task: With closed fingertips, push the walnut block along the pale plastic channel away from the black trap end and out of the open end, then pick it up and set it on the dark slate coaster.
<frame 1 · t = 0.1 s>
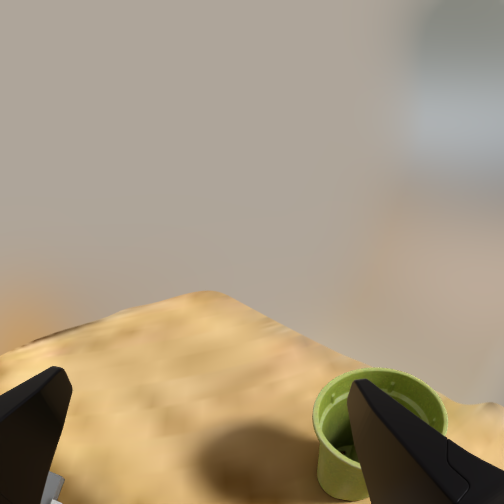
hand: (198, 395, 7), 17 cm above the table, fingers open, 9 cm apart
slate coaster: (18, 494, 10), on the table
plant pot: (350, 473, 18), on the table
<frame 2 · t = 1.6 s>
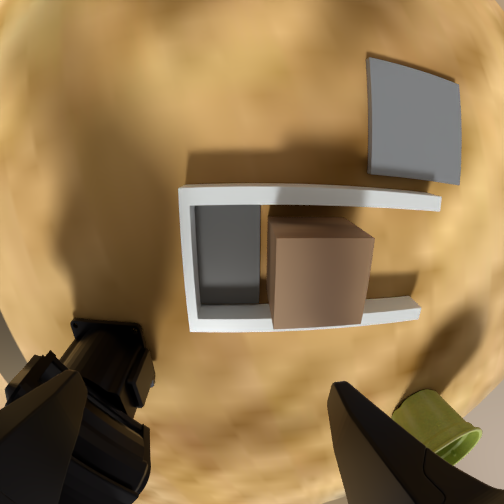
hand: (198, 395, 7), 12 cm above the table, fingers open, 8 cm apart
slate coaster: (417, 123, 16), on the table
walnut block: (304, 253, 19), on the table
channel: (319, 254, 19), on the table
plant pot: (413, 405, 26), on the table
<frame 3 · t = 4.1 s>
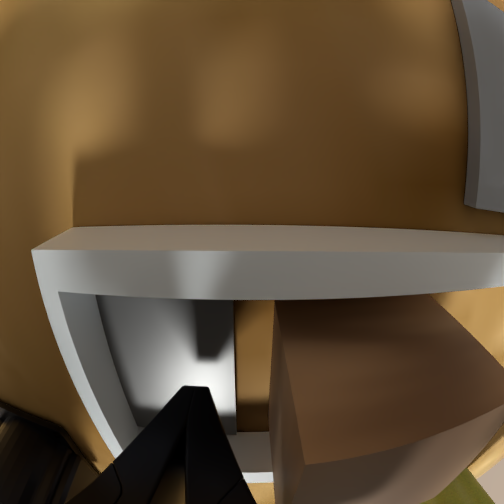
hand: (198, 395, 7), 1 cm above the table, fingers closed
walnut block: (345, 363, 9), on the table, touching gripper
channel: (355, 363, 9), on the table
plant pot: (438, 481, 15), on the table
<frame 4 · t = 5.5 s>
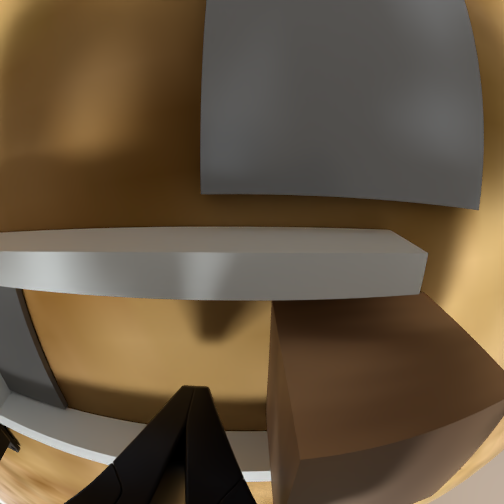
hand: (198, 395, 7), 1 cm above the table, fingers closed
slate coaster: (361, 51, 6), on the table
walnut block: (343, 362, 9), on the table, touching gripper
channel: (126, 361, 9), on the table
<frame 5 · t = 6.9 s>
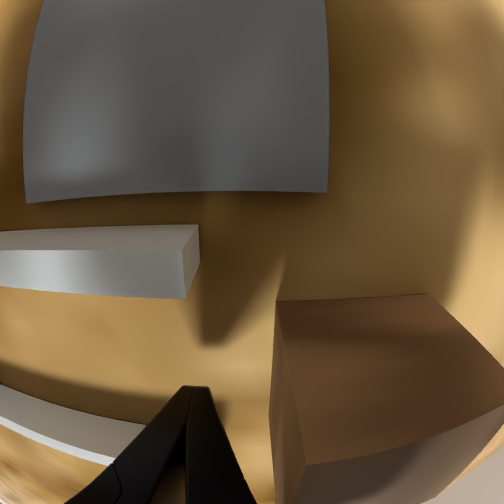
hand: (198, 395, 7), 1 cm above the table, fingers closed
slate coaster: (161, 39, 6), on the table
walnut block: (346, 363, 9), on the table, touching gripper
channel: (20, 342, 8), on the table
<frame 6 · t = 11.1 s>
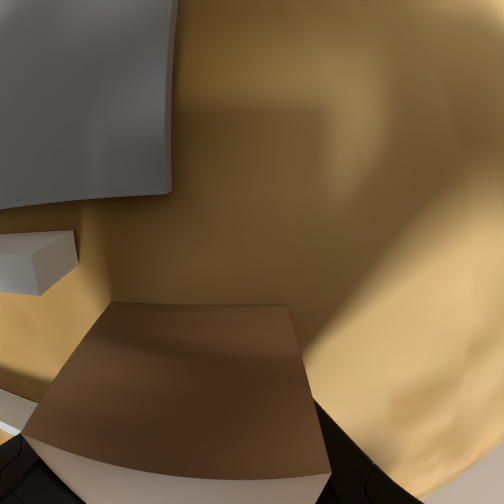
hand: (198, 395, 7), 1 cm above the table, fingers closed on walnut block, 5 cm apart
slate coaster: (45, 67, 5), on the table
walnut block: (201, 373, 8), on the table, touching gripper
when the fingers open (3 cm above the table, at t = 14.9 s): walnut block drops 2 cm, resting on slate coaster.
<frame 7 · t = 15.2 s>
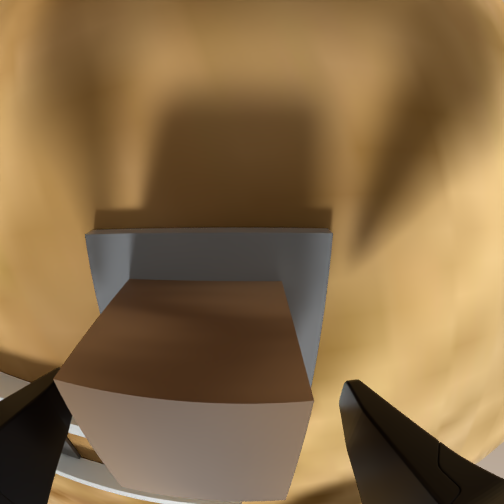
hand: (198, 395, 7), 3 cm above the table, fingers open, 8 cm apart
slate coaster: (209, 333, 10), on the table
walnut block: (206, 344, 10), point 1 cm above the table, touching slate coaster
channel: (112, 445, 13), on the table
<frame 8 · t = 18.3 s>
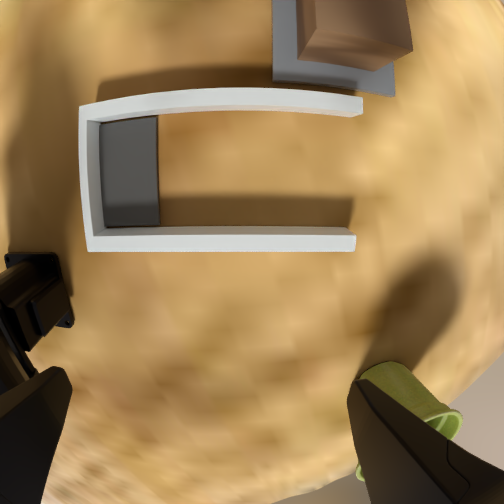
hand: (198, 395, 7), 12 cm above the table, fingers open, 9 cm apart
slate coaster: (333, 34, 14), on the table
walnut block: (335, 32, 14), point 1 cm above the table, touching slate coaster
channel: (221, 168, 17), on the table
plant pot: (378, 382, 24), on the table
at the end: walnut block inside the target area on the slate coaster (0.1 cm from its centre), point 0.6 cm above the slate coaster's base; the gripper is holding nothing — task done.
